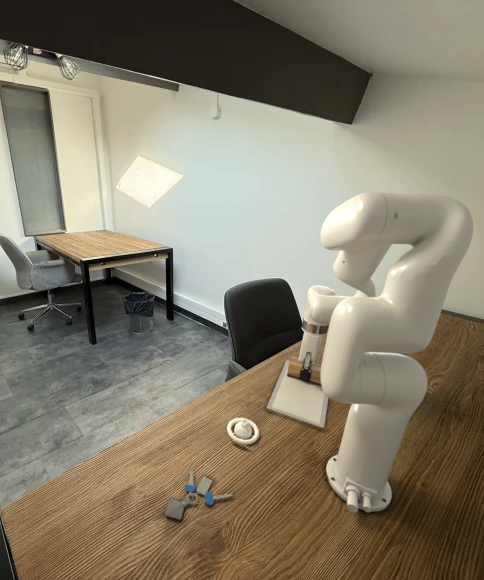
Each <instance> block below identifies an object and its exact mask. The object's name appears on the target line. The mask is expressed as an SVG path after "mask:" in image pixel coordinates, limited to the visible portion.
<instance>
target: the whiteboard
mask: <svg viewBox="0 0 484 580" xmlns="http://www.w3.org/2000/svg"><path fill="white" fill-rule="evenodd" d="M289 362H290V359H289V360H288V359H286V360H285V362H284V365H283V367H282V370H281V372H280V374H279V377H278V380H277V381H276V384H275V386H274V389H273V392H272V394H271V396H270V398H269V401H268V403H267V406H266V409H268V410H271V411H274V412H277V413H279V414H283V415H285V416H289V417H291V418H294V419H297V420H300V421H303V422H305V423H308V424H310V425H313V426H317V427H320V428H323V429H324V428H325V424H326V418H327V410H328V404H329V403H328V402H329V397H327V395H326V394H325V393H324V391H323V389H322V387H321V386H318V385H314V384H311V383H308V382H304V381H301V380H298V379H294V378H291V377H288V376H287V372H288V366H289Z"/></svg>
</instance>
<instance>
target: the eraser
mask: <svg viewBox="0 0 484 580" xmlns="http://www.w3.org/2000/svg"><path fill="white" fill-rule="evenodd" d="M298 359H299V357H297V356H290V359H289V361H290V362H289V366H288V372H287V376H288V377H291V378H294V379H298V380H299V377H300V371H301V368H302V364H303V361H302V362H301V361H299V360H298ZM310 362H311V361H310ZM321 365H322V363H319V362H316V361H315V364H314V365H312V368H311V371H312V373H311V378H310V382H308V383H311V384H314V385H318V386H321V387H322V385H321V378H320V376H321ZM309 367H310V364H309ZM301 381H302V380H301ZM304 382H305V381H304Z"/></svg>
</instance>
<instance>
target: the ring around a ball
mask: <svg viewBox="0 0 484 580" xmlns="http://www.w3.org/2000/svg"><path fill="white" fill-rule="evenodd" d="M234 425H235V426H234ZM233 426H234V432H233V431H232V427H233ZM252 429H253V430H254V434H252V433H253V430H252ZM226 432H227V434H228V436H229V438H230V439H231V440H232V441H234V442H235V443H238V444H239V445H246V446H247V445H248V446H249V445H252V444H254V443H256V442H257V441H258V439H259V437H260V430H259V427H258V426H257V425H256V423H255V422H254V421H252V420H250V419H249V418H245V417H235V418H233V419H231V420H230V421H229V422H228V424H227V427H226Z"/></svg>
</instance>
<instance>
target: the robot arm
mask: <svg viewBox="0 0 484 580" xmlns="http://www.w3.org/2000/svg"><path fill="white" fill-rule="evenodd" d="M319 235H320V243H321V245H322V247H323V248H324V249H326V250H328V251H338V252H339V253H338V255H337V257H336V259H335V261H334V263H333V265H332V272H333V274H334V276H335V277H336V279H338V280H339V281H340V282H341V283H344V284H345V285H347V286H349V287H351V288H353V289H355V290H357V291H356V292H355V294H354V295H353V296H347V295H336V292H335V290H334V289H333V288H331V287H328V286H325V285H311V286H310V288H308V291H307V295H306V301H305V306H304V312H303V318H302V324H301V329H302V331H303V334H302V341H301V345H300V349H299V354H298V358H299V359H298V360H299V361H301V362H302V361H303V364H302V368H301V371H300V377H299V380H302V381H305V382H310V378H311V373H312V371H311V368H312V365H314V364H315V362H316V361H317V358H318V355H319V351H320V348H321V344H322V341H323V340H322V339H323V336H326V340H325V345H324V350H323V355H322V360H321V364H322V365H321V376H320V378H321V385H322V389H323V391H324V393H325V394H326V395H327V397H328V399H330V400H331V401H333V402H335V403H341V404H349V405H350V407H349V411H348V414H347V418H346V421H345V424H344V425H345V426H344V429H343V432H342V433H343V434H342V436H341V440H340V441H341V442H340V445H339V449H338V452H337V454H336V455H333V456H332V457H330V458H329V460H328V461H327V463H326V470H325V471H326V476H327V481H328V483H329V485H330V487H331V489H332V490H333V491H334V492H335V493H336V494H337V495H338V496H339V497H340V498H341V499H342V500H343V501H345V502H346V509H347V511H349V512H350V513H354V514H357V513H358V512H359V510H363V511H364V512H365V513H371V512H381V511H383V510H385V509H387V508H388V507H389V505H390V503H391V501H392V498H393V495H392V494H393V491H392V487H391V485H390V483H389V481H388V479H389V477H390V475H391V471H392V468H393V465H394V462H395V459H396V457H397V453H398V451H399V448H400V446H401V443H402V439H403V438H404V434H405V431H406V429H407V426H408V424H409V422H410V420H411V418H412V417H413V415H414V413H415V412H416V410H417V409H418V408H419V406H421V403H422V402H423V400H424V398H425V396H426V394H427V391H428V384H429V383H428V375H427V373H426V371H425V369H424V367H423V366H422V365H421V364H420V363H419V362H418V361H417V360H415V359H414V358H412V357H411V356H409V355H405V354H415V353H420V352H422V351H425V350H426V349H427V347H428V346H429V345H430V343H431V341H432V339H433V336H434V334H435V331H436V328H437V324H438V322H439V319H440V316H441V312H442V310H443V307H444V305H445V302H446V299H447V295H448V292H449V288H450V285H451V282H452V280H453V278H454V276H455V274H456V272H457V270H458V269H459V267H460V265H461V263H462V262H463V260H464V258H465V257H466V254H467V253H468V250H469V248H470V245H471V243H472V240H473V235H474V219H473V216H472V213H471V212H470V209H469V208H468V207H467V206H466V205H465V204H464V202H462V201H460V200H458V199H456V198H453V197H450V196H446V195H441V194H440V195H439V194H433V193H432V194H431V193H413V192H411V193H410V192H405V193H402V192H363V193H359V194H357V195H354V196H353V197H351V198H350V199H348V200H346V201H344V202H343V203H341V204H339V206H337V207H336V208H334V209H333V210H331V211H330V213H328V215H327V217H326V218H325V220H324V221H323V223H322V226H321V229H320V234H319ZM392 245H410V246H411V248H410V249H409V250H408V251H407V250H406V252H404V253H403V254H402V255H401V256H400V257H399V258H398V259H397V260H396V262H395V263H393V265H392V266H391V267H390V268H389V270H388V273H387V275H386V279H385V284H384V287H383V290H382V292H381V294H380V295H379V296H377V295H376V291H377V290H376V286H375V283H374V280H373V279H372V276H373V275H374V273H375V272H376V271H377V268H378V267H379V265H380V264H381V262H382V261H383V259H384V257H385V256H386V254H387V253H388V251H389V250H390V248H391V246H392ZM310 361H311V362H310ZM309 364H310V367H309ZM325 394H324V395H325Z"/></svg>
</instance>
